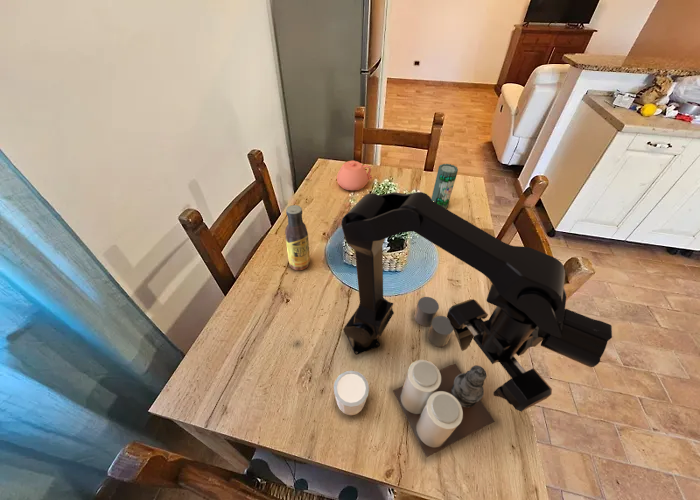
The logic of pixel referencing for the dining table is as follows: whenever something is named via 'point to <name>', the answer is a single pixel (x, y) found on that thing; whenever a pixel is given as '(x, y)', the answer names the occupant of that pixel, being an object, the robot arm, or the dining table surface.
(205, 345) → the dining table surface
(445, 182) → the can
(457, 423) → the white shaker front
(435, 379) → the white shaker back
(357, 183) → the sugar bowl
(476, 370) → the grey chess piece
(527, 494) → the dining table surface
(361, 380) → the white candle jar
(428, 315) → the grey jar
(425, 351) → the dining table surface
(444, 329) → the grey jar
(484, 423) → the walnut board
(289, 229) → the sauce bottle
